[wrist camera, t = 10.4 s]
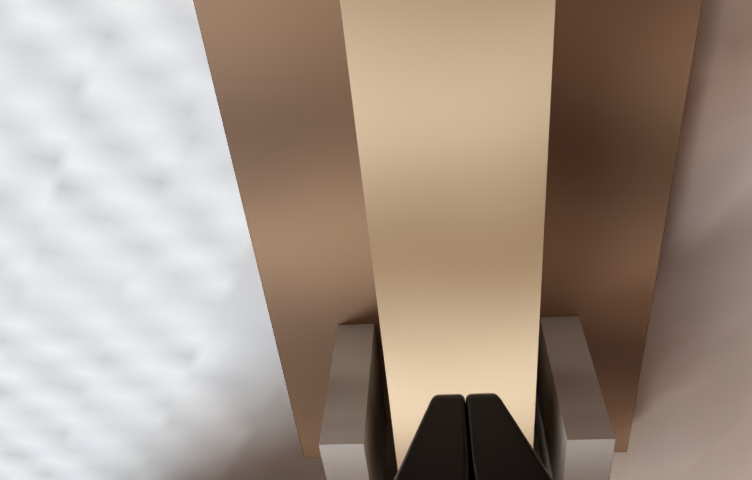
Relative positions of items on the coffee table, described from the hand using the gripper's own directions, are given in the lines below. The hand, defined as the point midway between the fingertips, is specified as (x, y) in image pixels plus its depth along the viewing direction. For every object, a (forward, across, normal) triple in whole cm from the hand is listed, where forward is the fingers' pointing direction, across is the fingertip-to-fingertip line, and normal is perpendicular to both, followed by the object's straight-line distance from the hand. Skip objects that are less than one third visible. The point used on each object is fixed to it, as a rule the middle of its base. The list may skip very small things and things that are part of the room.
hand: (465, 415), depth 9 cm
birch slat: (+8, 0, 0) cm, 8 cm away
